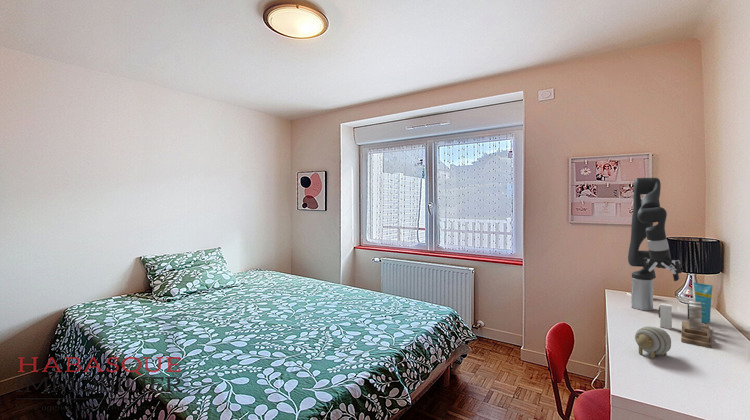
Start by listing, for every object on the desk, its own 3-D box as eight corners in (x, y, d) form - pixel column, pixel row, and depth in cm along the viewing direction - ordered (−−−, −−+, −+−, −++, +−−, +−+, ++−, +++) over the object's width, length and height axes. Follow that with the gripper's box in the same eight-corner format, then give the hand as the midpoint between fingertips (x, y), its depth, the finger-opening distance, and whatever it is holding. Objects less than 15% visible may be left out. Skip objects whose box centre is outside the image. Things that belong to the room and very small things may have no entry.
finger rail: (681, 341, 137) (680, 313, 137) (682, 323, 157) (681, 298, 157) (711, 347, 131) (711, 318, 130) (708, 328, 150) (708, 302, 150)
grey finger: (659, 326, 154) (658, 304, 153) (659, 325, 156) (659, 303, 156) (671, 329, 150) (671, 306, 150) (671, 327, 152) (671, 304, 152)
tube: (691, 319, 162) (690, 282, 161) (696, 318, 164) (695, 281, 163) (710, 324, 155) (710, 285, 155) (715, 322, 157) (715, 284, 156)
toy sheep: (626, 353, 128) (626, 326, 128) (649, 345, 135) (649, 319, 134) (658, 365, 118) (658, 335, 118) (681, 355, 125) (681, 327, 125)
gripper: (681, 246, 147) (687, 278, 148) (644, 244, 160) (650, 274, 161) (674, 251, 144) (680, 284, 145) (637, 249, 156) (643, 279, 158)
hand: (664, 279), depth 153 cm, fingers open, 8 cm apart
